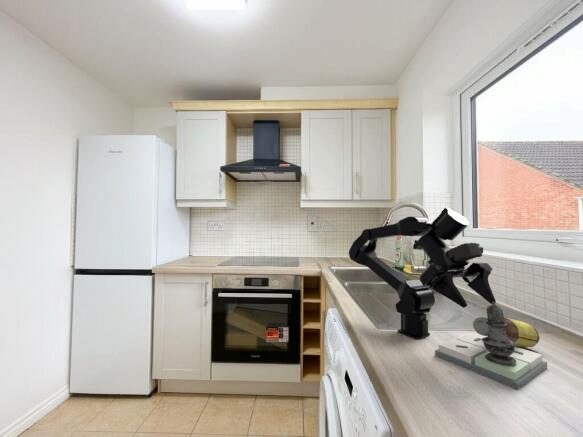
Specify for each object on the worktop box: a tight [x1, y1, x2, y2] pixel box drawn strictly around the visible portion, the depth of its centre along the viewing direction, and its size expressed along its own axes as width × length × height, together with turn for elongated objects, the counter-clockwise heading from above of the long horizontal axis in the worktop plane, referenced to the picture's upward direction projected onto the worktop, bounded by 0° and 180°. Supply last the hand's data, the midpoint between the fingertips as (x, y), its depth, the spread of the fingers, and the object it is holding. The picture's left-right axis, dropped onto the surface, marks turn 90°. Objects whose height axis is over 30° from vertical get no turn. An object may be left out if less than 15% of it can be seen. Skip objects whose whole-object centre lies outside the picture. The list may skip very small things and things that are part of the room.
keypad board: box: [434, 332, 548, 390], centre depth 62 cm, size 16×16×3 cm
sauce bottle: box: [472, 316, 540, 348], centre depth 66 cm, size 7×6×20 cm
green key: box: [475, 351, 529, 380], centre depth 56 cm, size 7×7×3 cm
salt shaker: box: [482, 301, 517, 365], centre depth 57 cm, size 6×6×12 cm
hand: (480, 304), depth 61 cm, fingers open, 9 cm apart
